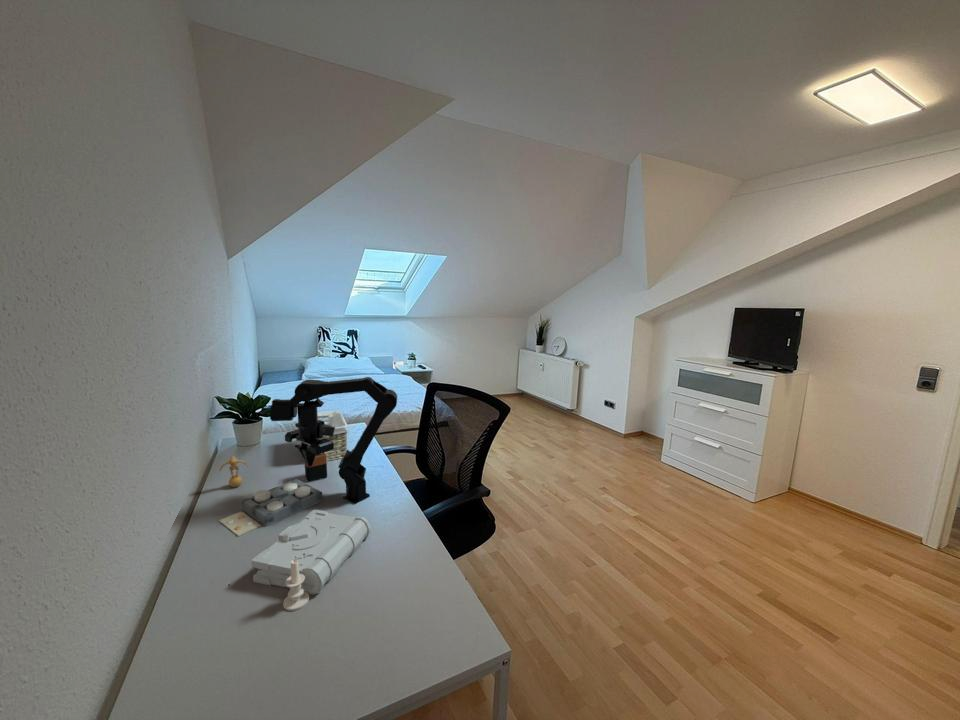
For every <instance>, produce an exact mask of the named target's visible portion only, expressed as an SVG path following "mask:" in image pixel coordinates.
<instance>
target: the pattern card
mask: <svg viewBox="0 0 960 720" xmlns="http://www.w3.org/2000/svg"><path fill="white" fill-rule="evenodd" d="M219 522H220V523H221V524H222V525H223V526H224V527H226V528H228V530H230V531H231V532H233V534H235V535H236V536H237V537H240V536H243V535H244V534H246V533H249V532H251V531H253V530H255V529H258V528H260V527H261V524H260V523H258V522H257V521H256V520H254V519H252V518H251V517H250V516H248V515H247V514H246V513H244V512H243V511H239V512H236V513H234V514H231V515H229V516H227V517H224V518H222V519H219Z"/></svg>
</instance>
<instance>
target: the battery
mask: <svg viewBox="0 0 960 720" xmlns="http://www.w3.org/2000/svg"><path fill="white" fill-rule="evenodd" d="M304 474H305V479H306V481H307V482H308V483H310V482H315V481H318V480H323V479H326V478H327V477H328V461H327V458H326V454H325V453H322V454H317V455H315V459H314V462H313V465H312V466H310V467H309V466H307V464H306V462H305V461H304Z"/></svg>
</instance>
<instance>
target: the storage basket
mask: <svg viewBox="0 0 960 720" xmlns="http://www.w3.org/2000/svg"><path fill="white" fill-rule="evenodd" d="M317 415H318V420H319V419H325V418H328V421H324V424H326V425H330V426H332V427H335V430H334V434H333V437H330V436H323V438H318V439H319V440H322V439H328V440H330V441H332V442H333V443H334V449H333V450H330V451H327V452H324V453H325V454H326V458H327V462H329V461H335V460H341V459H342V458H343V457H344V456H345V453H346V451H347V450H348V447H347V446H348V435H347V434H348V432H349V429H348V424H347V421H346V420H345V418H344V415H343V414H342V413H341V411H339V410H332V411H331V410H329V411H321V412H320V411H317Z"/></svg>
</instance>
